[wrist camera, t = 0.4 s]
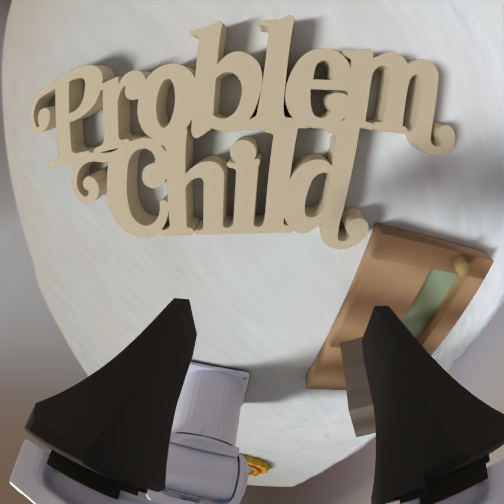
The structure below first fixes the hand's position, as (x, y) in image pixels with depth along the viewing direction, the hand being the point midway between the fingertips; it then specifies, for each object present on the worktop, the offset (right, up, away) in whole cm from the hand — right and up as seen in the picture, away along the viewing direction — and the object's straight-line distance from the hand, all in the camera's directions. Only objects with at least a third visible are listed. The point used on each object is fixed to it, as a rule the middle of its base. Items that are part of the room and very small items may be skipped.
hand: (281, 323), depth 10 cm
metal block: (+10, -8, +14) cm, 19 cm away
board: (+13, -5, +13) cm, 19 cm away
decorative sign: (-3, +10, +6) cm, 13 cm away
